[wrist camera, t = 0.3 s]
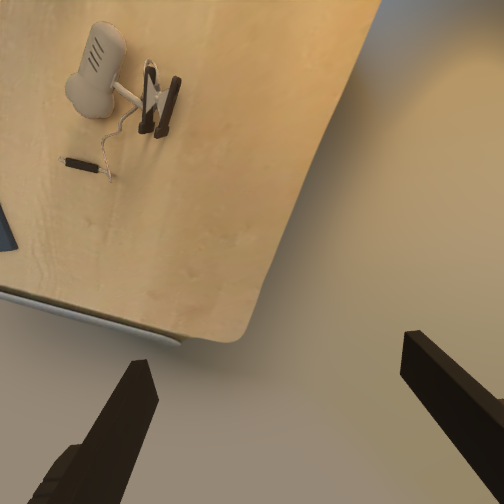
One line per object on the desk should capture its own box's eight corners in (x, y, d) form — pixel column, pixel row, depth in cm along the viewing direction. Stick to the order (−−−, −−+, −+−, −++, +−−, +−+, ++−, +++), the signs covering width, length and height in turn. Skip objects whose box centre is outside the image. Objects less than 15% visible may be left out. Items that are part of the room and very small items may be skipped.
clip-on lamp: (138, 193, 39) (193, 86, 31) (119, 208, 34) (179, 82, 26) (63, 146, 36) (104, 12, 28) (28, 154, 30) (67, -10, 22)
